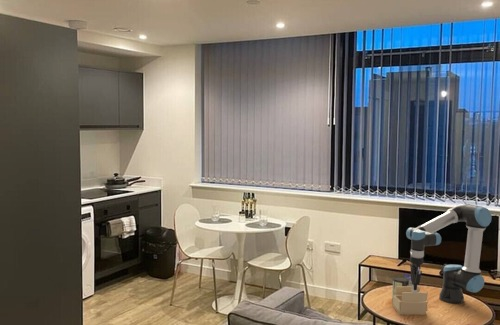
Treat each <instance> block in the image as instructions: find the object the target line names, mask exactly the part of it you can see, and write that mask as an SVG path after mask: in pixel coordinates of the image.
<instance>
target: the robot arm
mask: <svg viewBox="0 0 500 325" xmlns="http://www.w3.org/2000/svg"><path fill="white" fill-rule="evenodd" d="M458 222H465V223H466V224H465V226H466V227H465V228H467V229H468V230H467V235H466V236H467V237H466V247H465V255H464V263H463V265H461V264H446V265H444V266H443V271H442V288H441V290H440V292H439V299H440V300H441V301H443V302H445V303H449V304H462V303H464V302H465V297H464V292H463V290H466V291H468V292H470V293H479V292H480V291H481V290H482V289H483V288H484V285H485V278H484V276H482V271H481V269H480V261H481V260H480V259H481V254H482V253H481V251H482V246H483V243H482V242H483V235H484V234H483V233H484V232H485V230H486V229H487V227H489V225H490V223H492V212H491V211H490V210H489V209H488V208H487V207H484V206H480V205H475V204H470V203H462V204H457V205H455V206H452V207H450V208H448V209H447V210H446V212H444V213H443V214H442V213H441V215H438V216H436V217H434V218H432V219H431V220H429V221H427V222H425V223H423V224H420V225H418V226H417V227H408V228H407V229H406V232H405V236H406V238H407V239H408V240H411V241H410V242H411V243H410V250H409V253H410V256H409V262H410V265H409V266H410V268H409V269H410V277H411V281H412V292H417V286H419V285H420V281H421V278H422V277H421V276H422V273H423V271H422V270H421V265H423V264H424V257H425V247H432V246H433V247H434V246H438V245H440V244H441V243H442V236H441V235H440V233H438V232H437V231H439V230H441V229H443V228H445V227H447V226H449V225H451V224H455V223H456V224H457V223H458Z"/></svg>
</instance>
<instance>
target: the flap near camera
mask: <svg viewBox="0 0 500 325" xmlns="http://www.w3.org/2000/svg"><path fill="white" fill-rule="evenodd" d="M428 295H429V293H428V291H427V292H425V291H424V292H423V291H420V292H403V294H402V300H401V301H427V302H428V300H427V299H428Z"/></svg>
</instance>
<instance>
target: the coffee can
mask: <svg viewBox="0 0 500 325" xmlns="http://www.w3.org/2000/svg"><path fill="white" fill-rule="evenodd" d="M396 286H409V279H408V278H405V277H404V276H393V277H392V294H391V296H392V297H391V300H392V301H393V296H394V295H402V294H395V290H396Z"/></svg>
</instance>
